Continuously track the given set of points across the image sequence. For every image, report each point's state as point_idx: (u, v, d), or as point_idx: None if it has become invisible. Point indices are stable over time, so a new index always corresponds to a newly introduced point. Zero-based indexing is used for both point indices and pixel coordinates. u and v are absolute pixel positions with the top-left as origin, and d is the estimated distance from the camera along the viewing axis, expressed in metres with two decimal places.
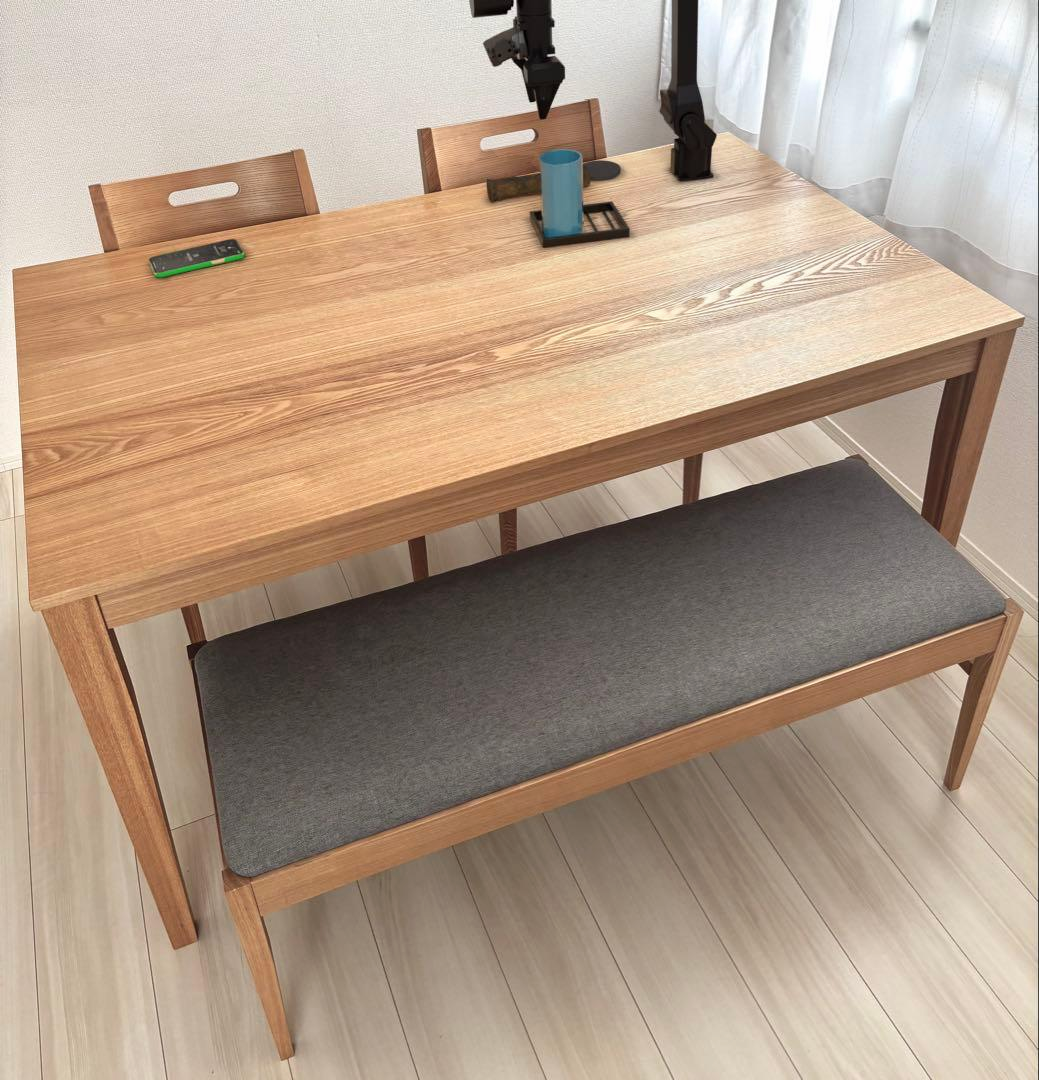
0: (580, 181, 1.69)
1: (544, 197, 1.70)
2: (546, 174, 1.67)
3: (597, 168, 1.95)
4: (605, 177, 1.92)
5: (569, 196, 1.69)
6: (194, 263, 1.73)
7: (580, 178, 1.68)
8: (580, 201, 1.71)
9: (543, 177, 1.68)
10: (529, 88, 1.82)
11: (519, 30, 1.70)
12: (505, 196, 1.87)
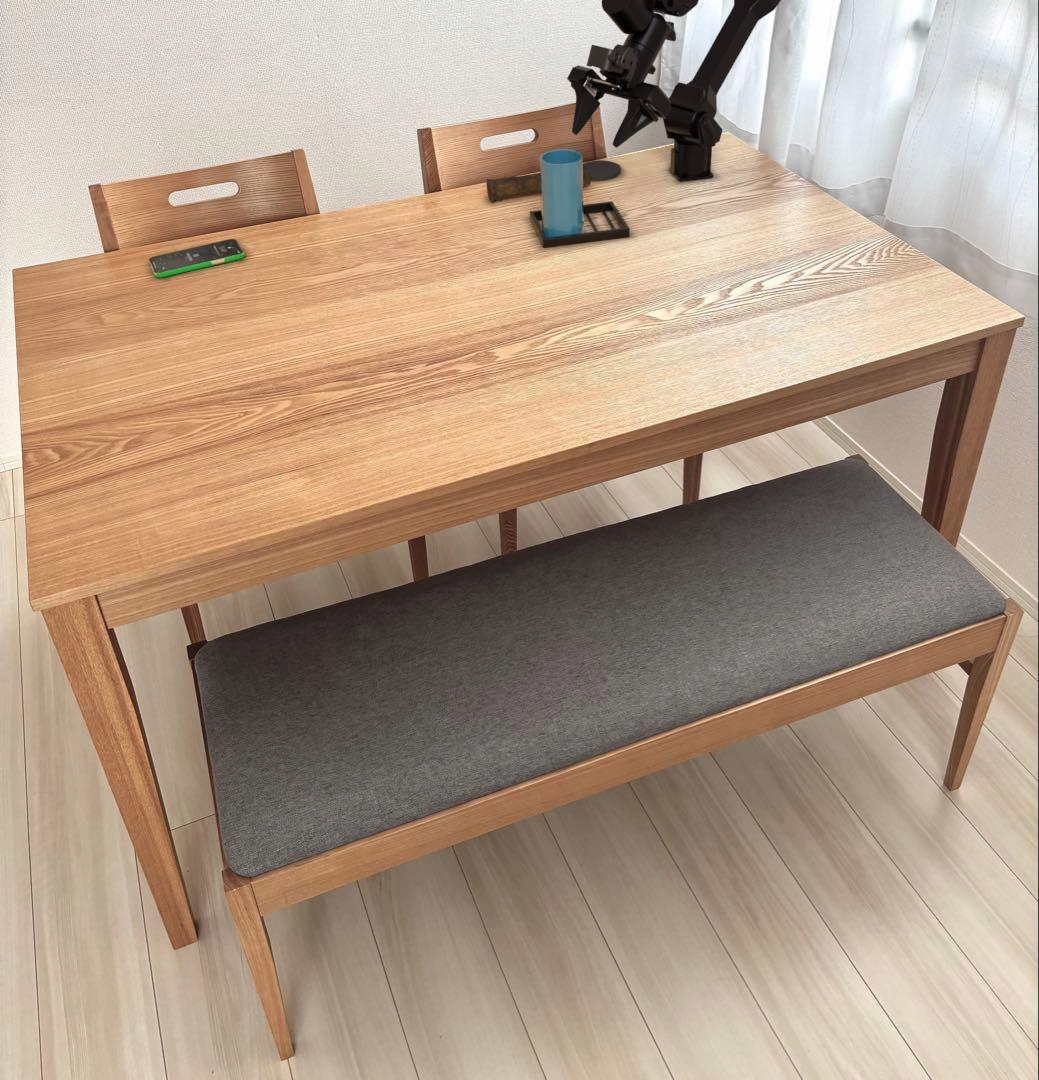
0: (580, 181, 1.69)
1: (544, 197, 1.70)
2: (546, 174, 1.67)
3: (597, 168, 1.95)
4: (605, 177, 1.92)
5: (569, 196, 1.69)
6: (194, 263, 1.73)
7: (580, 178, 1.68)
8: (580, 201, 1.71)
9: (543, 177, 1.68)
10: (579, 119, 1.74)
11: (636, 54, 1.66)
12: (505, 196, 1.87)
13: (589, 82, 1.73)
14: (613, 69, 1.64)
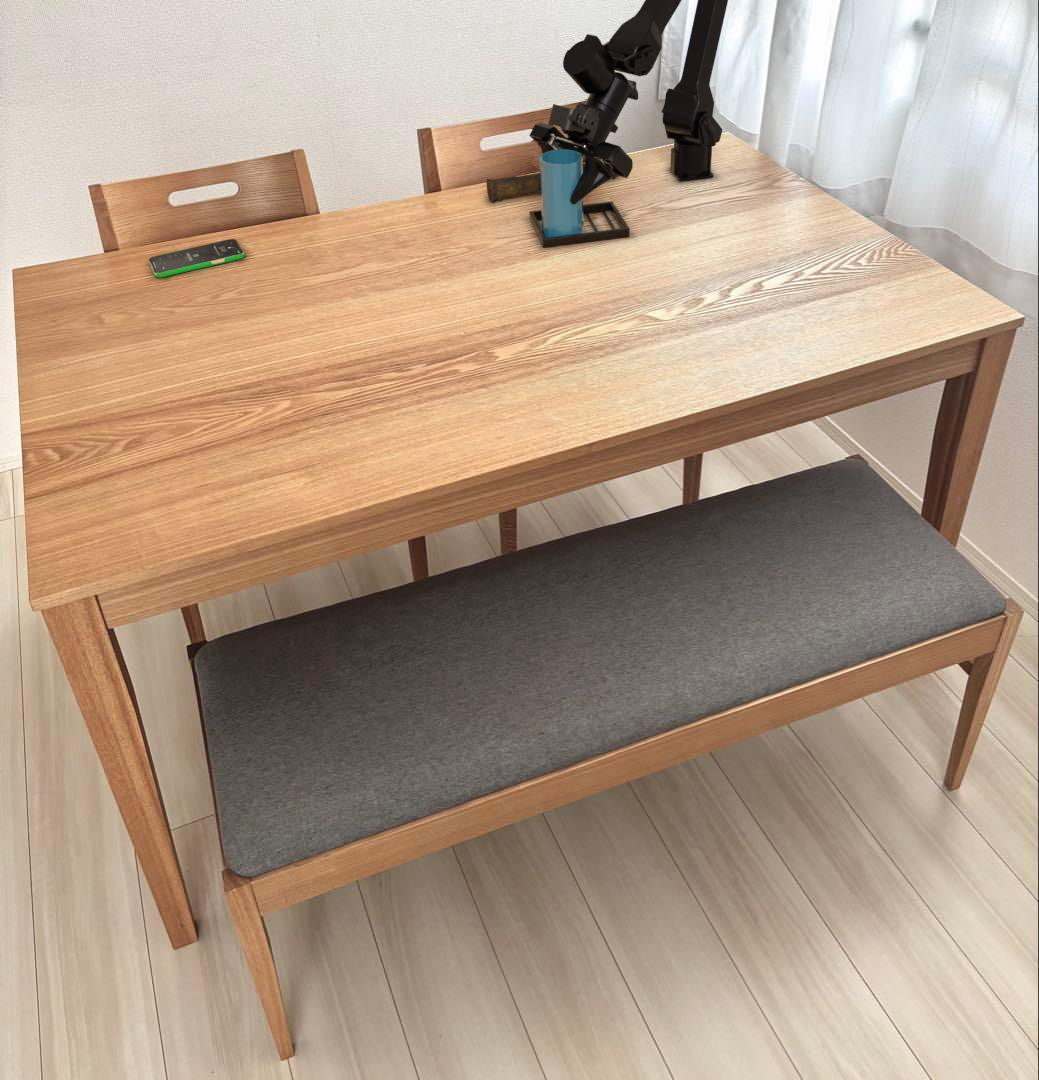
0: None
1: (544, 197, 1.70)
2: (546, 174, 1.67)
3: None
4: None
5: (569, 196, 1.69)
6: (194, 263, 1.73)
7: None
8: (580, 201, 1.71)
9: (543, 177, 1.68)
10: None
11: (597, 114, 1.66)
12: (505, 196, 1.87)
13: None
14: (574, 129, 1.64)
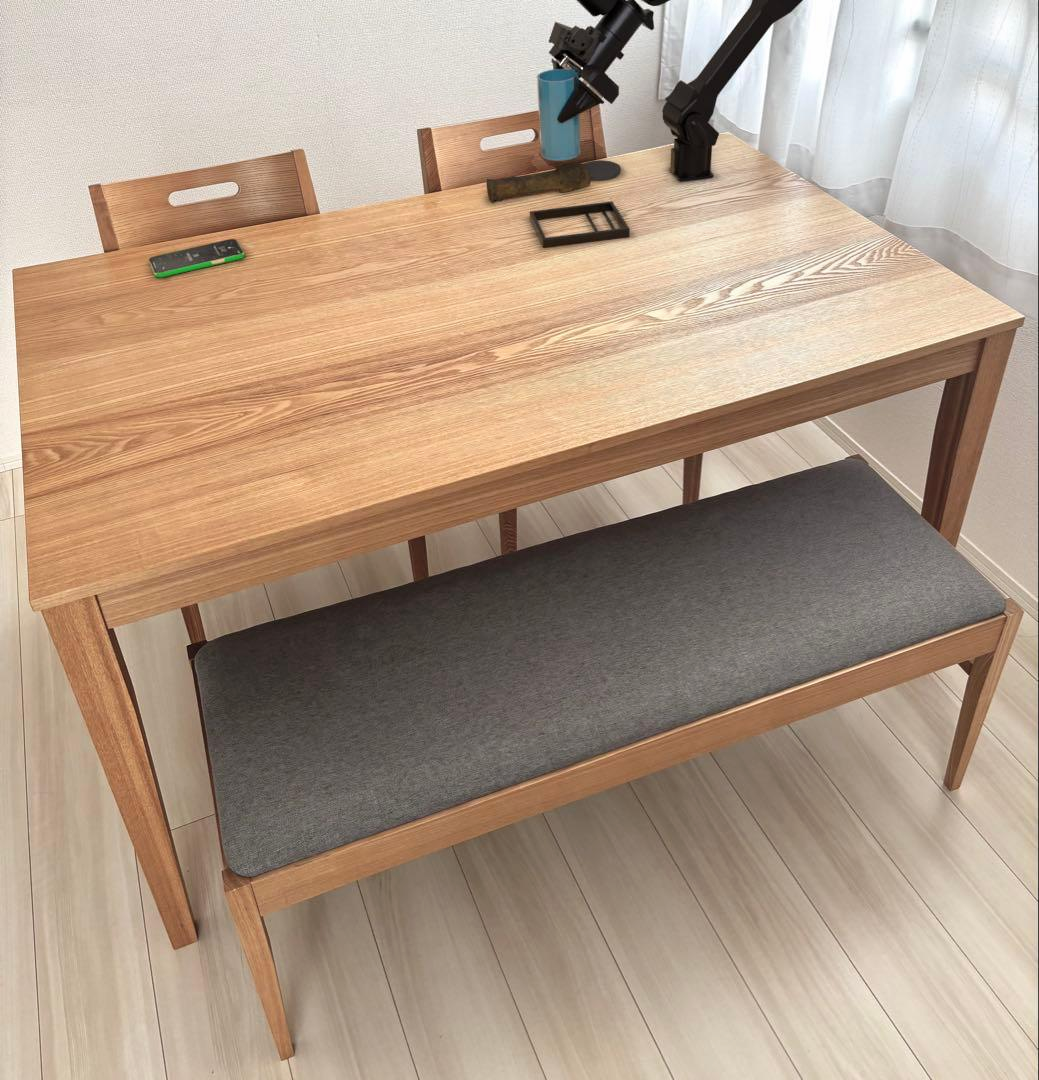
0: None
1: (539, 113, 1.77)
2: (538, 90, 1.74)
3: (597, 168, 1.95)
4: (605, 177, 1.92)
5: (557, 115, 1.75)
6: (194, 263, 1.73)
7: None
8: (571, 121, 1.76)
9: (538, 93, 1.75)
10: None
11: (596, 37, 1.70)
12: (505, 196, 1.87)
13: None
14: (566, 48, 1.69)
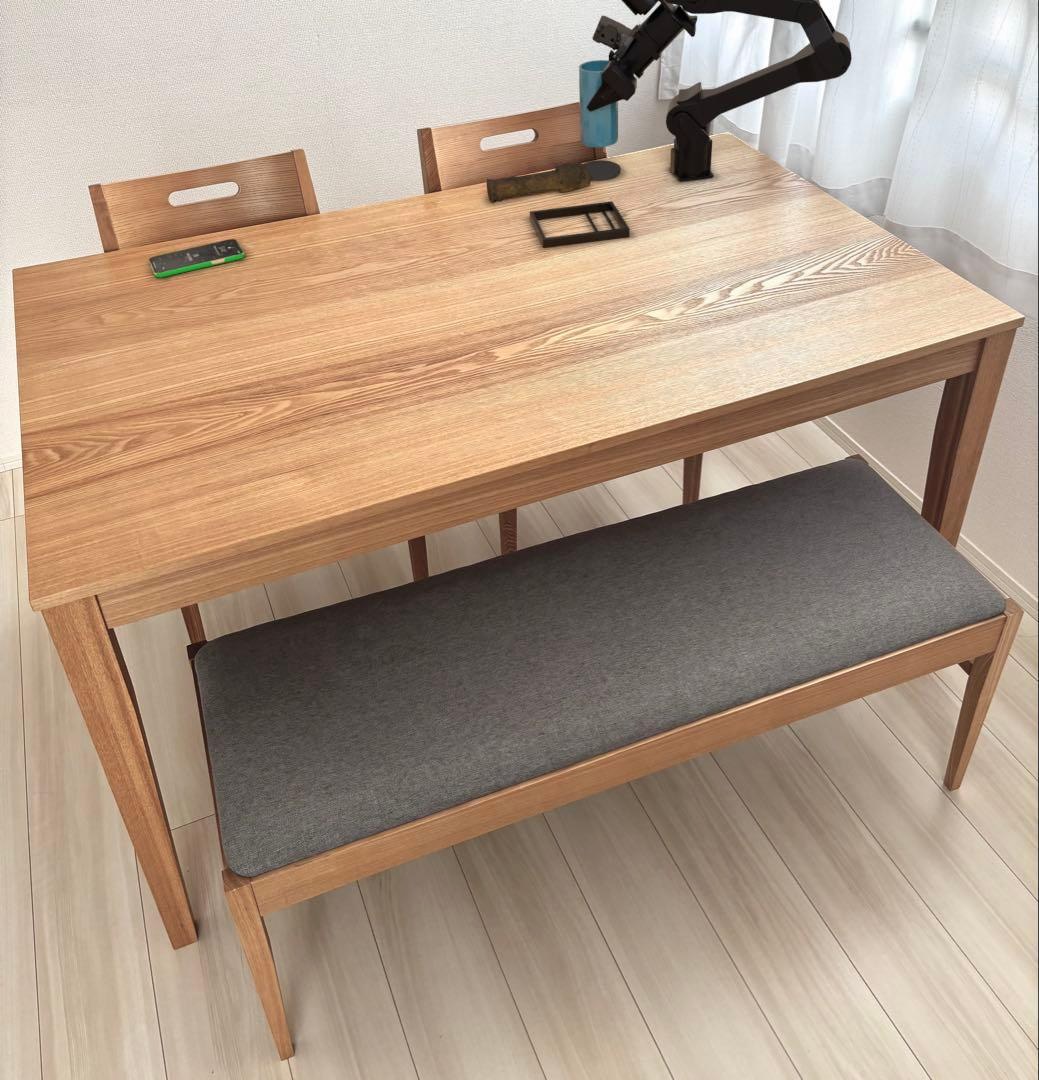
0: None
1: None
2: None
3: (597, 168, 1.95)
4: (605, 177, 1.92)
5: (588, 103, 1.85)
6: (194, 263, 1.73)
7: None
8: (602, 111, 1.85)
9: None
10: None
11: (632, 35, 1.77)
12: (505, 196, 1.87)
13: None
14: (601, 41, 1.79)
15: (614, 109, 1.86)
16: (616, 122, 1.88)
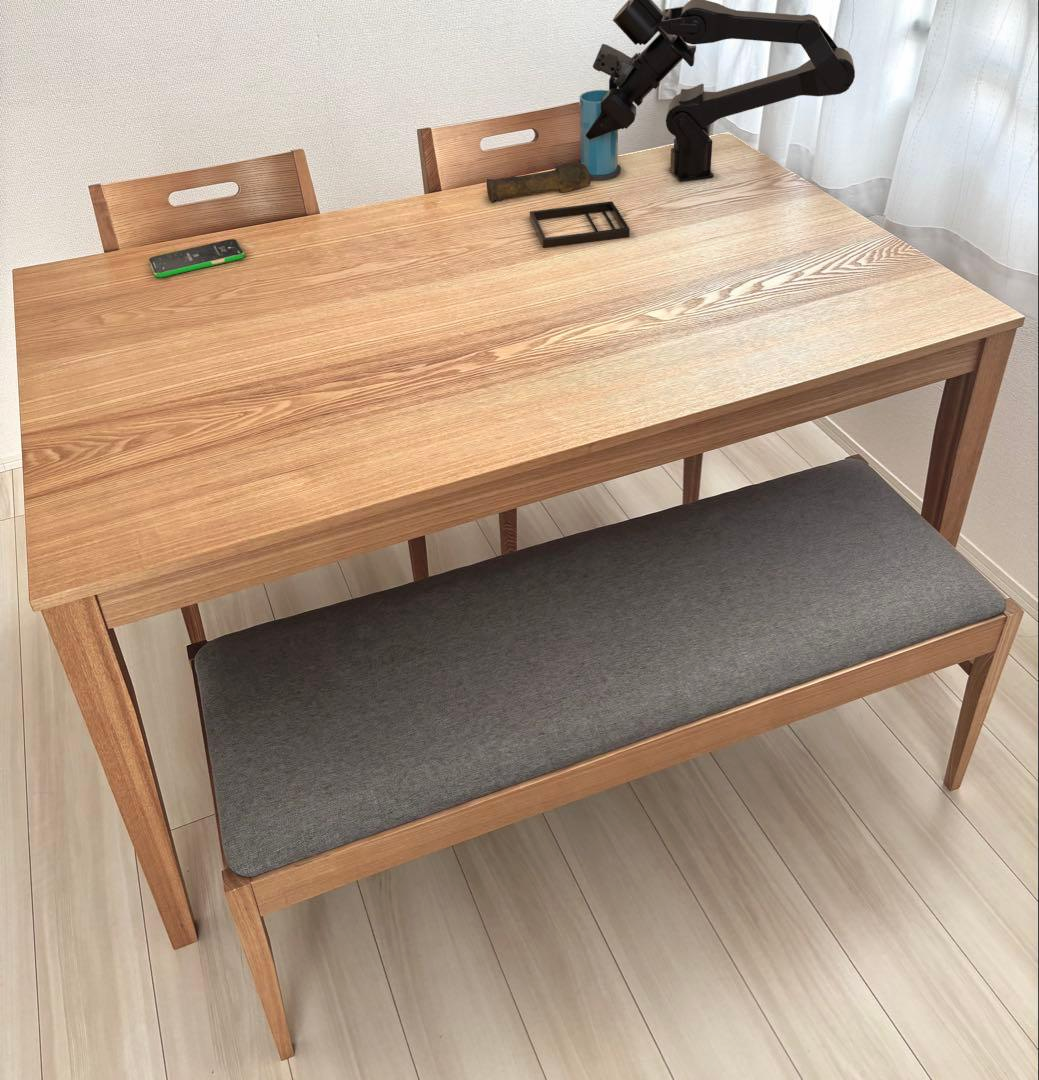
0: None
1: None
2: None
3: None
4: (605, 177, 1.92)
5: None
6: (194, 263, 1.73)
7: None
8: (602, 141, 1.89)
9: None
10: None
11: (632, 64, 1.80)
12: (505, 196, 1.87)
13: None
14: (601, 69, 1.82)
15: (614, 138, 1.90)
16: (616, 151, 1.92)
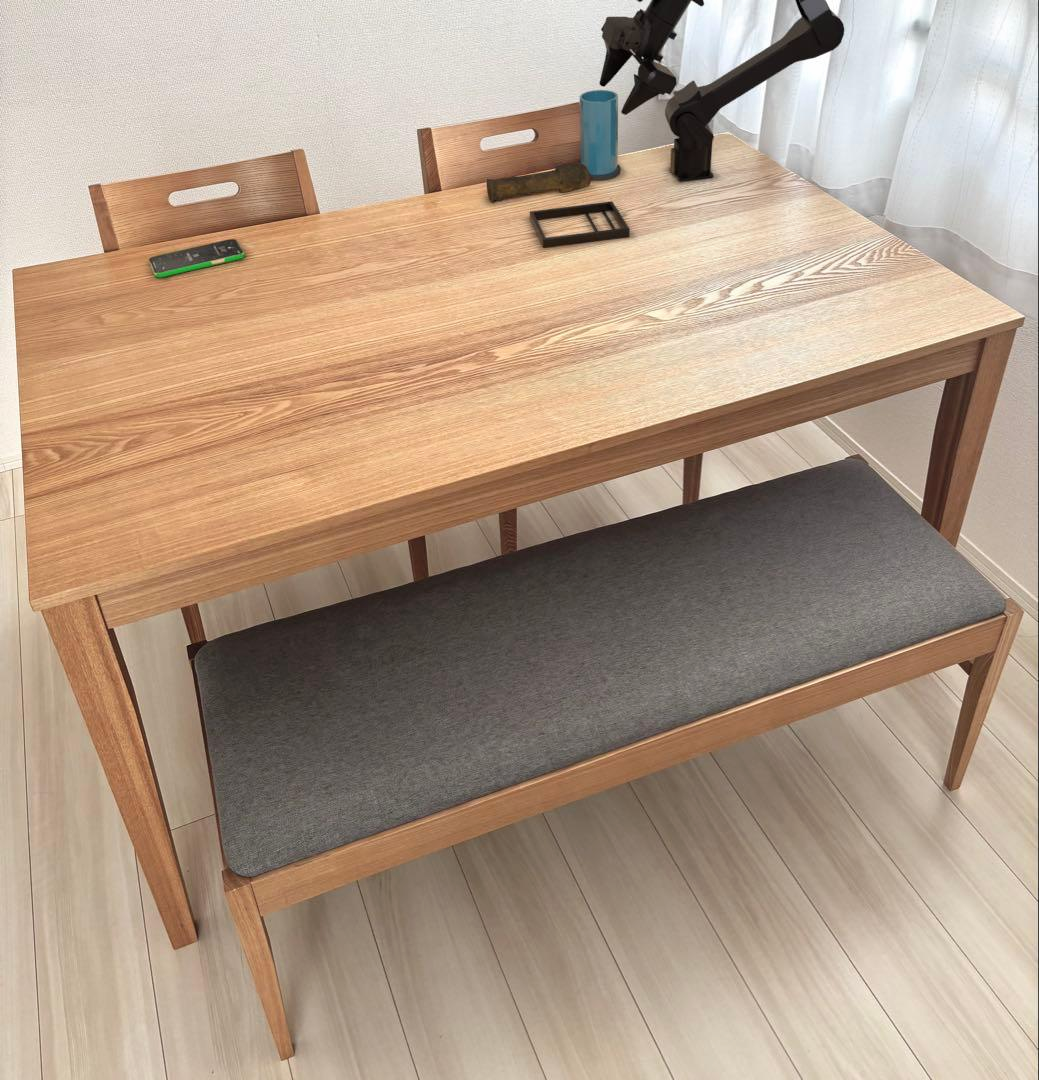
0: (602, 122, 1.87)
1: None
2: None
3: None
4: (605, 177, 1.92)
5: (589, 132, 1.88)
6: (194, 263, 1.73)
7: (602, 119, 1.86)
8: (602, 141, 1.89)
9: None
10: (607, 73, 1.85)
11: (649, 28, 1.74)
12: (505, 196, 1.87)
13: None
14: (621, 46, 1.74)
15: (614, 138, 1.90)
16: (616, 151, 1.92)
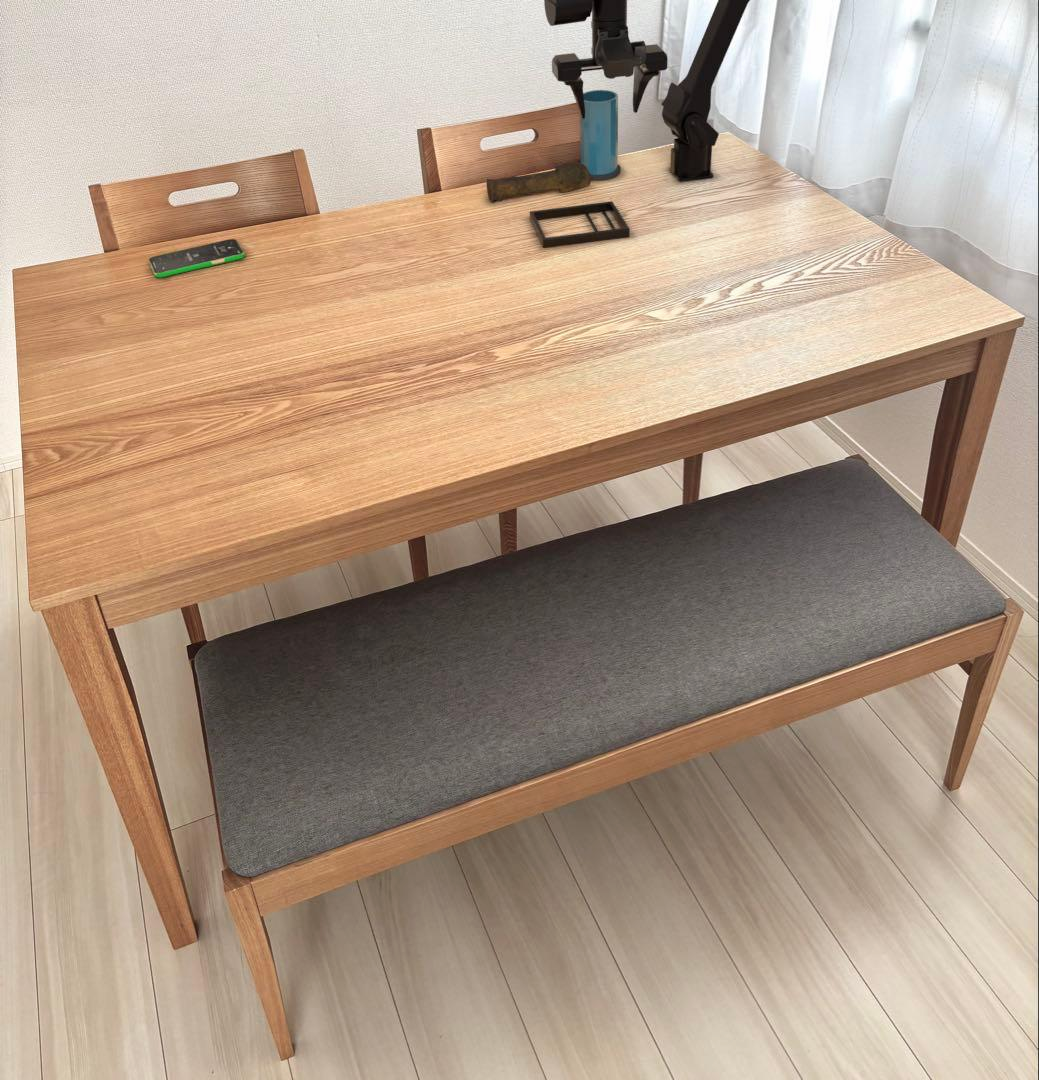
0: (602, 122, 1.87)
1: None
2: None
3: None
4: (605, 177, 1.92)
5: (589, 132, 1.88)
6: (194, 263, 1.73)
7: (602, 119, 1.86)
8: (602, 141, 1.89)
9: None
10: None
11: (627, 33, 1.71)
12: (505, 196, 1.87)
13: None
14: None
15: (614, 138, 1.90)
16: (616, 151, 1.92)
